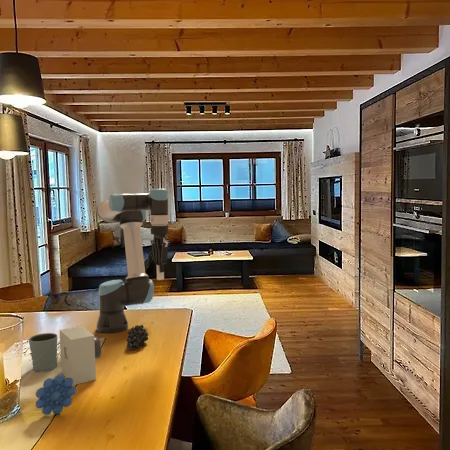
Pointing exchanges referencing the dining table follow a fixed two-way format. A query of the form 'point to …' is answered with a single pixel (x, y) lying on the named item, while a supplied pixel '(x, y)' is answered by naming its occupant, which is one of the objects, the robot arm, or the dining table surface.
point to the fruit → (136, 337)
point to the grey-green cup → (43, 351)
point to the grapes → (55, 394)
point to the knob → (97, 348)
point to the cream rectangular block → (78, 354)
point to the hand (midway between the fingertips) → (160, 279)
